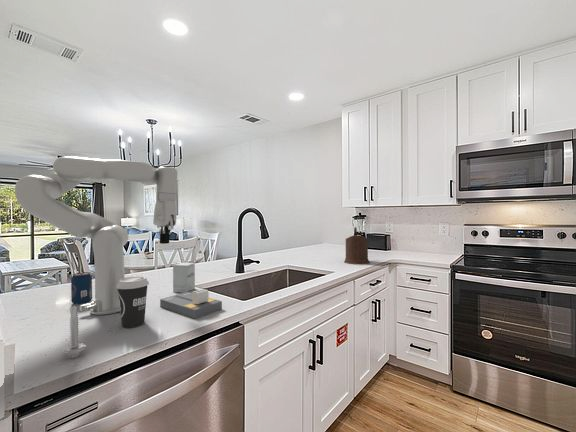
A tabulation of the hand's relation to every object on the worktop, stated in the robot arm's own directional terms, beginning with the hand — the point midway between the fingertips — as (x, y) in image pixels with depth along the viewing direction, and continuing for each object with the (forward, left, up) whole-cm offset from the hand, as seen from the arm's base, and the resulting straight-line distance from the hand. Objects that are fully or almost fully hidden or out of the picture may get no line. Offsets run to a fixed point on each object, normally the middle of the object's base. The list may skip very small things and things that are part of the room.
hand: (164, 243), depth 113 cm
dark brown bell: (+135, -27, -25) cm, 140 cm away
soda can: (-19, +30, -25) cm, 43 cm away
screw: (-37, -20, -25) cm, 49 cm away
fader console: (+3, -13, -25) cm, 28 cm away
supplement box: (+16, +11, -25) cm, 32 cm away
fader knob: (+3, -19, -21) cm, 28 cm away
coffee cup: (-18, -11, -25) cm, 32 cm away
